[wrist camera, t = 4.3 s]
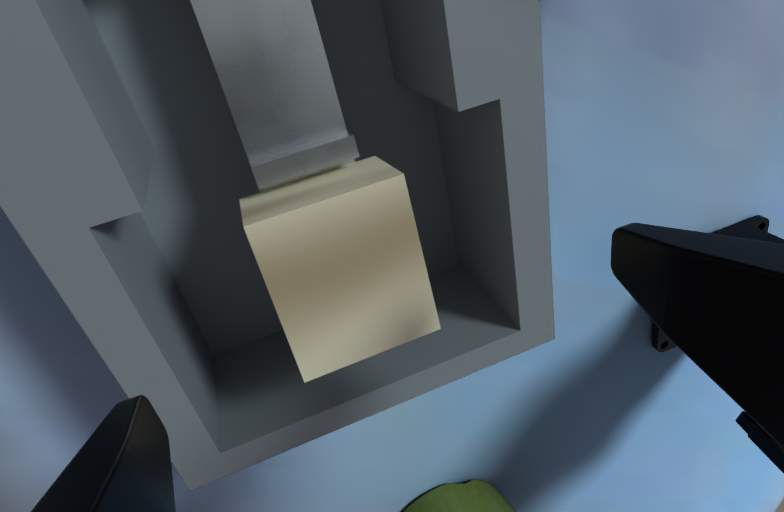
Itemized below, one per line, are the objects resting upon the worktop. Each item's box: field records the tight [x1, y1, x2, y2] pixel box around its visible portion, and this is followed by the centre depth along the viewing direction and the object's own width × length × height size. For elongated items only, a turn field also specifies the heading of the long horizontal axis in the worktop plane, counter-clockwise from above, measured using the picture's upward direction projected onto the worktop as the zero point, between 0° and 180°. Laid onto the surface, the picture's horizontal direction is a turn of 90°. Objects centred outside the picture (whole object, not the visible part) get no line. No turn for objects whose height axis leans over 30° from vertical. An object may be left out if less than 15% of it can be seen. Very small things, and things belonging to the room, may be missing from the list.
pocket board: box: [0, 0, 555, 491], centre depth 13 cm, size 24×13×5 cm, turn 12°
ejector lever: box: [190, 0, 360, 192], centre depth 12 cm, size 18×3×3 cm, turn 12°
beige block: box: [239, 156, 441, 383], centre depth 14 cm, size 5×4×3 cm
